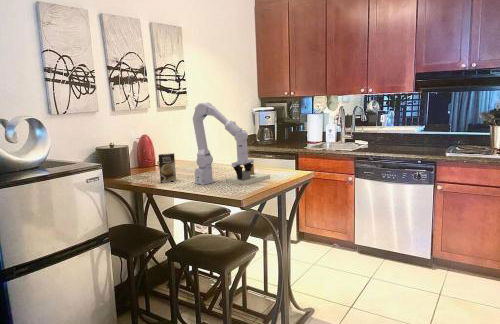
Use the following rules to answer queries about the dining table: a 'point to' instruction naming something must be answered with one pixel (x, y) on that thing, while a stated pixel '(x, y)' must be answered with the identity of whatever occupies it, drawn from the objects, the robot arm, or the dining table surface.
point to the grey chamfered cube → (245, 175)
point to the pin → (252, 170)
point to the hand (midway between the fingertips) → (243, 177)
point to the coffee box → (167, 167)
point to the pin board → (254, 178)
